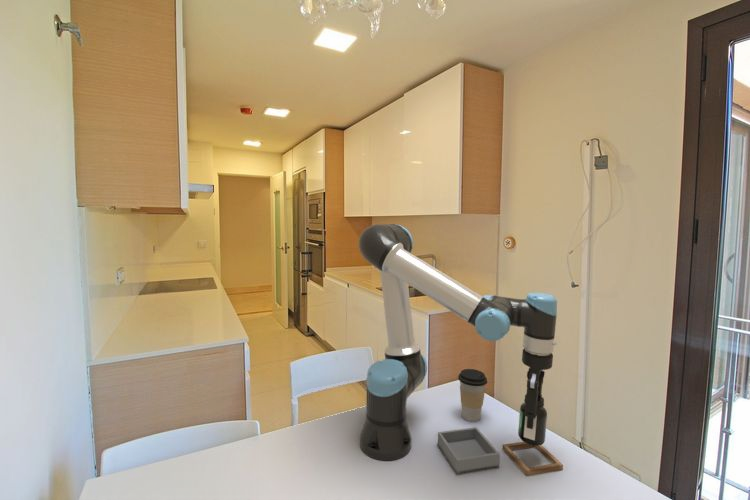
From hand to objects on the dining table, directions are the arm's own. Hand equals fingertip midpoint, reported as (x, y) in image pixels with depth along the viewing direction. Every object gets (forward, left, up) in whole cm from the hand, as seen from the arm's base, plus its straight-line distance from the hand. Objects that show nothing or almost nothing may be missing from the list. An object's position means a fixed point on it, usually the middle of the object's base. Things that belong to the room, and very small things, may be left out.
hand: (531, 430), depth 98 cm
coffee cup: (-23, -6, -8) cm, 25 cm away
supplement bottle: (0, 0, -2) cm, 2 cm away
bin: (-5, -17, -8) cm, 19 cm away
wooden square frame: (0, 0, -8) cm, 8 cm away
